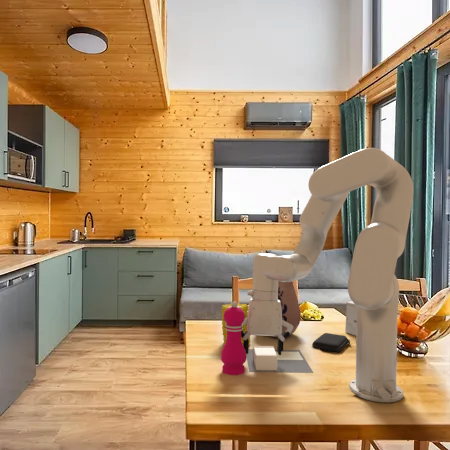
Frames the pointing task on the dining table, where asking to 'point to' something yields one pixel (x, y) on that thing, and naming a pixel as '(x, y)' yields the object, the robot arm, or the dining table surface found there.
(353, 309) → the skincare box
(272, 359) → the box
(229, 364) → the pepper mill
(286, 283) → the ceramic pitcher
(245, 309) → the food
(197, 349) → the dining table surface
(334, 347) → the carrying case or bag
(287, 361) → the mat
